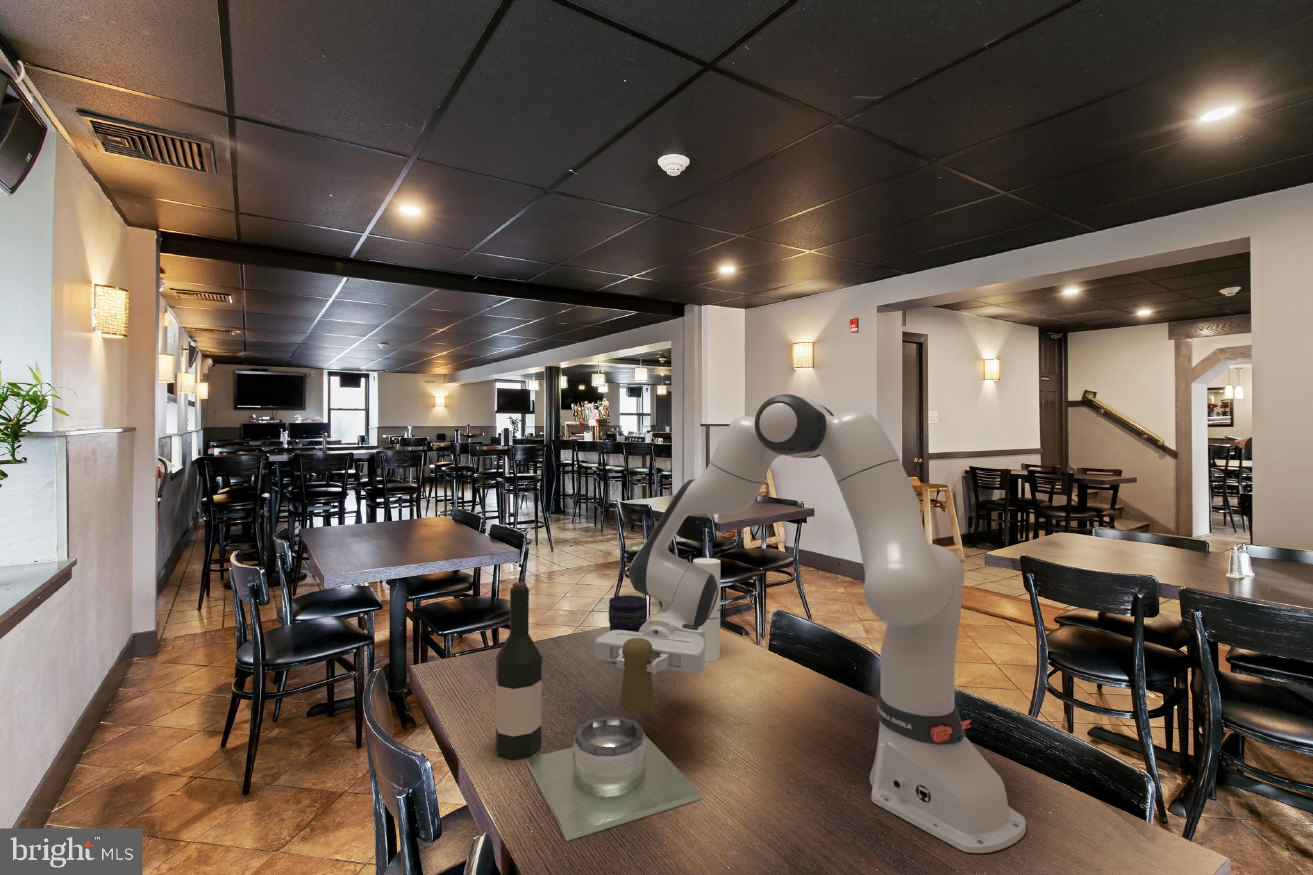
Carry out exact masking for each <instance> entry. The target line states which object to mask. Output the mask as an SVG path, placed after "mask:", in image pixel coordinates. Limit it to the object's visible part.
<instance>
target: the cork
mask: <svg viewBox="0 0 1313 875" xmlns="http://www.w3.org/2000/svg"><path fill="white" fill-rule="evenodd" d="M652 653H653V648H652V644H651V643H650V641H648V640H646V639H643V638H632V639H629V640H627V641H626V642H625V643H624V645H623V648H622V654H623V657H624V659H625V660H626V661H625V668H624V669H623V677H622V686H621V692H620V699H619V707H620V709H622V710H623V711H625V712H628V713H633V714H639V713H640V714H641V713H646V712H649V711H651V710H653V709H654V707H655V706H656V702H655V696H654V695H655V694H654V685H653V679H652V673H647V662H649V660H650V658H651V657H652Z"/></svg>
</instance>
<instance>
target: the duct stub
mask: <svg viewBox="0 0 1313 875" xmlns="http://www.w3.org/2000/svg"><path fill="white" fill-rule="evenodd" d="M644 731H645V730H644V728H643V727H642V725H640V724H639V723H638V721H636V720H633V719H630V718H626V717H623V716H603V717H598V718H593V719H589V720H587V721H586V722H584V723H583V724H581V725H579V726H578V728H577V730H576V733H575V734H574V736H573V742H572V746H571V747H569V748H564V749H559V750H556V751H551V752H548V753H544V754H539V755H538V754H537V755H533V756H531V757H527V758H526V766H527V767H528V770H529V771H530V773H531V775H532V777H533V779H534V781H535V783H536V786H537V788H538V789H539V791H540V793H541V794H542V798H544V799H543V800H544V801H545V803H546V804H547V806H548V808H549V810H550V812H551V814H552V816H553V818H554V820H555V822H556V824H557V826H558V828H559V830H560V832H561V834H562V836H563V838H564V840H565V841H566V842H570V841H572V840H576V839H579V838H581V837H585V836H588V835H592V834H595V833H598V832H601V831H604V830H608V829H610V828H613V827H617V826H621V825H624V824H627V823H630V822H632V821H636V820H641V819H643V818H646V817H649V816H652V815H656V814H659V813H662V812H665V811H669V810H671V809H674V808H677V807H681V806H684V805H688V804H690V803H694V802H696V801H699V800H702V792H701V791H700V790H699V789H698V788H697V787H696V786H695V785H694V783H693V782H691V781H690V780H689V779H688V778H687V777H686V776H685V775H684V773H683V772H681V770H680V769H679V768H677V766H676V765H674V763H673V762H672V761H671V760H670V759H669V758H668V757H667V756H666V755H665V754H664V752H662V751H661V750H660V749H659V748H658V746H656V744H655V743H654V742H653V741H652V740H651V739H650V738H649V737H648V736H647V735H646V733H645V732H644Z"/></svg>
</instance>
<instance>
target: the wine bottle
mask: <svg viewBox="0 0 1313 875" xmlns="http://www.w3.org/2000/svg"><path fill="white" fill-rule="evenodd" d="M509 590H510V592H509V599H510V600H509V634H508V636H507V637H506V639H505V641H504V643H503V644H502V647H501V648H500V649H499V652H497V654H496V657H495V661H496V662H495V663H496V664H495V668H496V671H495V673H496V674H495V676H496V677H495V681H496V682H495V750H496V753H497V757H499V758H502V759H506V760H510V761H515V760H522V759H527V758H530V757H533V756H535V754H536V753H537V752H538V751H539V750H541V749H542V696H543V694H542V685H543V684H542V683H543V682H542V681H543V680H542V675H543V674H542V673H543V671H542V670H543V669H542V668H543V666H542V664H543V661H542V659H543V657H542V654H541V653H540V651H539V650H538V647H537V646H536V644H535V642H534V641H533V639H532V637H531V636H530V634H529V631H530V630H529V624H530V622H529V620H530V619H529V617H530V616H529V612H530V611H529V610H530V609H529V608H530V607H529V606H530V605H529V604H530V599H529V598H530V595H529V594H530V592H529V591H530V589H529V587H528V586H527V583H526V581H525V582H523V581H521V582H520V581H519V582H518V581H517V582H514V583H512V587H510V589H509Z"/></svg>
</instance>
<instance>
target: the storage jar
mask: <svg viewBox="0 0 1313 875" xmlns="http://www.w3.org/2000/svg"><path fill="white" fill-rule="evenodd" d="M608 604H609V605H608V623H609V631H612V630H625V631H633V632H638V631H639V629H640V628H641V626H642V625H643V624H644V623H645V622H647V620H648V619H647V613H648V612H647V599H646V598H645V597H643V596H638V595H632V594H631V595H630V594H629V595H617V596H614V597H611V598H610V599H609V600H608ZM615 663H617V662H613V663H612V664H615Z"/></svg>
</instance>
